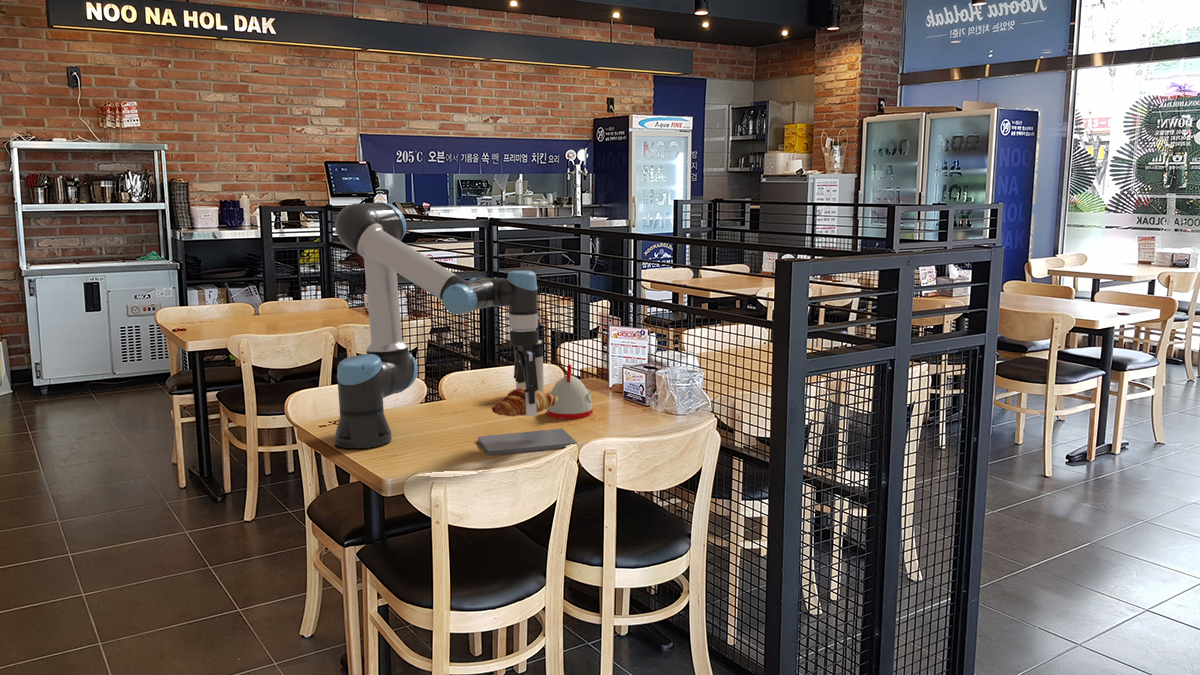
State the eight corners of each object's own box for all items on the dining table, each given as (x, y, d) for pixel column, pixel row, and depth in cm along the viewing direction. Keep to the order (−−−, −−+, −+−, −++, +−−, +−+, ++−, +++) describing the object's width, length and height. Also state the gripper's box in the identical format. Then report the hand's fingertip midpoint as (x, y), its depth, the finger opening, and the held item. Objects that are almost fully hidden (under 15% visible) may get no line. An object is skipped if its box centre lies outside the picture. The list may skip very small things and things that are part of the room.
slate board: (488, 456, 237) (488, 451, 236) (478, 441, 251) (477, 436, 250) (577, 447, 244) (577, 442, 244) (562, 433, 258) (562, 428, 258)
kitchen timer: (593, 408, 286) (592, 361, 284) (591, 419, 272) (591, 370, 270) (549, 408, 287) (548, 361, 284) (545, 419, 273) (544, 370, 270)
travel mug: (534, 398, 300) (532, 344, 297) (515, 395, 304) (513, 342, 301) (548, 393, 306) (547, 340, 303) (529, 390, 311) (528, 338, 308)
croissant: (551, 415, 255) (542, 388, 257) (571, 404, 248) (562, 376, 249) (488, 428, 241) (479, 399, 243) (507, 416, 234) (498, 387, 236)
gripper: (548, 334, 232) (550, 419, 236) (527, 322, 254) (530, 400, 258) (519, 336, 230) (522, 422, 234) (501, 324, 252) (504, 402, 255)
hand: (526, 410), depth 246 cm, fingers closed on croissant, 10 cm apart
